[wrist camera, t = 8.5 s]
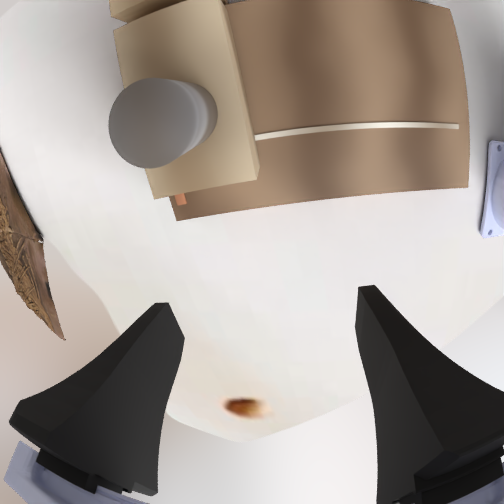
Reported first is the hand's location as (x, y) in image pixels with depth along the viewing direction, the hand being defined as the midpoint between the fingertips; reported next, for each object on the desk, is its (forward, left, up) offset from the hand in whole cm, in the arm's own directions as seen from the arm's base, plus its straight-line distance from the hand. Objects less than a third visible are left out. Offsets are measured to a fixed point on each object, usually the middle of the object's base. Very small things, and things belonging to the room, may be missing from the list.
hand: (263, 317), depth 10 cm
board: (-4, -7, -9) cm, 13 cm away
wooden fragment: (+27, 0, -10) cm, 29 cm away
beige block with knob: (+3, -10, -9) cm, 13 cm away
